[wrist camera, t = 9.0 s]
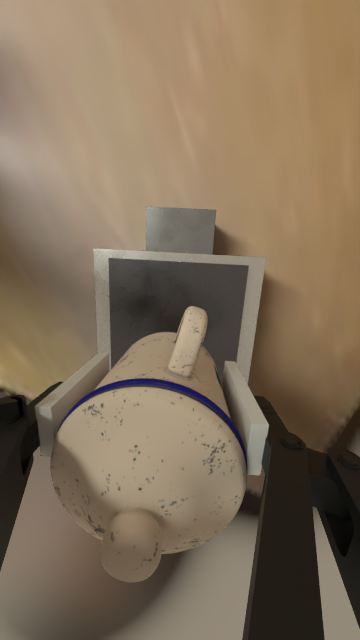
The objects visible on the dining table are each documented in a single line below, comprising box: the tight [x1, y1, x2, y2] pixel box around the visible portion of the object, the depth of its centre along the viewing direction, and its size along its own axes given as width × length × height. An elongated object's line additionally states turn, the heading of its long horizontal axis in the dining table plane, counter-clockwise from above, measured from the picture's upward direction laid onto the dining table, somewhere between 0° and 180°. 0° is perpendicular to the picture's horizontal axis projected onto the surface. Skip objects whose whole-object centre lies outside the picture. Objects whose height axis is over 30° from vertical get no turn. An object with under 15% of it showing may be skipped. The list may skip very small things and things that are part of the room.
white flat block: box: [93, 207, 266, 386], centre depth 27 cm, size 20×25×7 cm
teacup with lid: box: [51, 306, 248, 582], centre depth 11 cm, size 12×9×12 cm
